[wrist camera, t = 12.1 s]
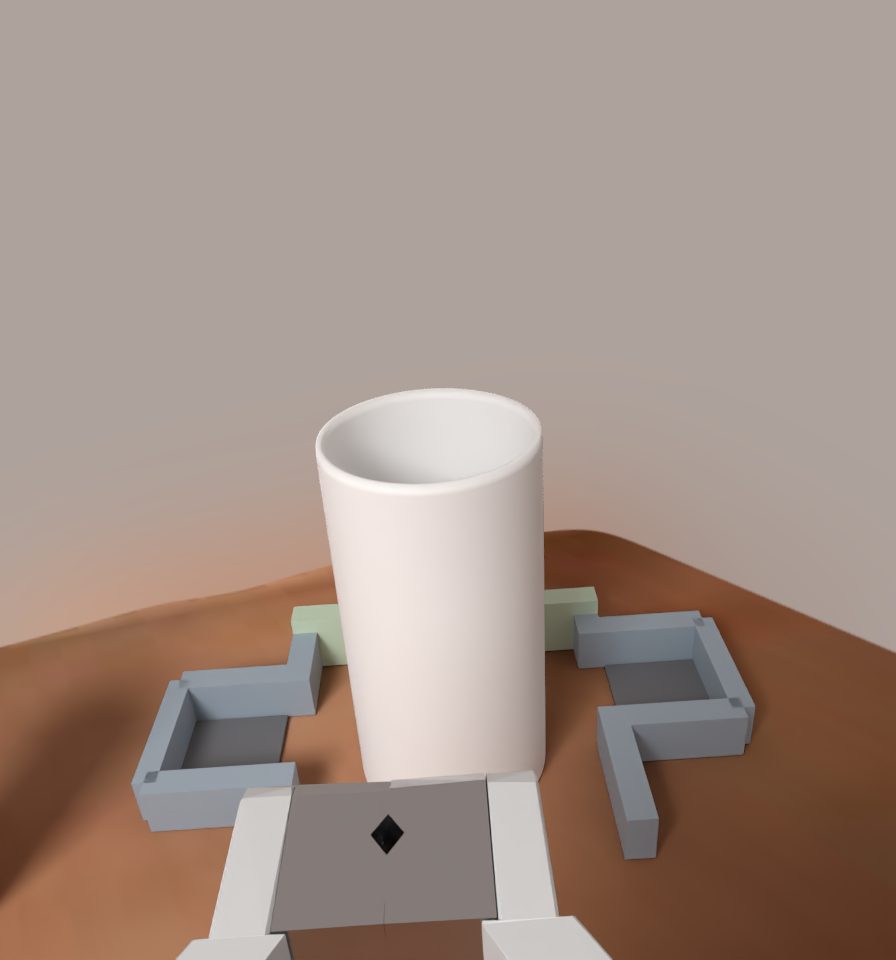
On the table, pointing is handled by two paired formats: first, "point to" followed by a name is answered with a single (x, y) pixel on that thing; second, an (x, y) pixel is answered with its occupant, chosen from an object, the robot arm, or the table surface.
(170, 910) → the table surface
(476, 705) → the cup
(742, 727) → the box
